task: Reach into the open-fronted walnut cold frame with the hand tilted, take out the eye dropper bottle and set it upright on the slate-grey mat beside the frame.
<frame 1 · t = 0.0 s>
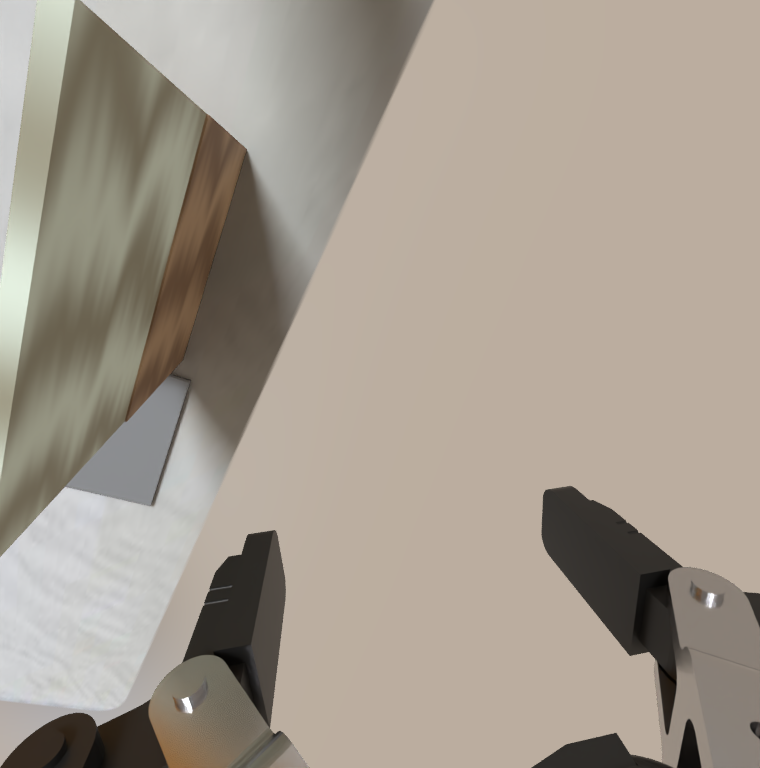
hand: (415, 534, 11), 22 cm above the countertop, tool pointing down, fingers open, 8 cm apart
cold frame: (137, 232, 27), on the countertop
slate mat: (92, 424, 32), on the countertop
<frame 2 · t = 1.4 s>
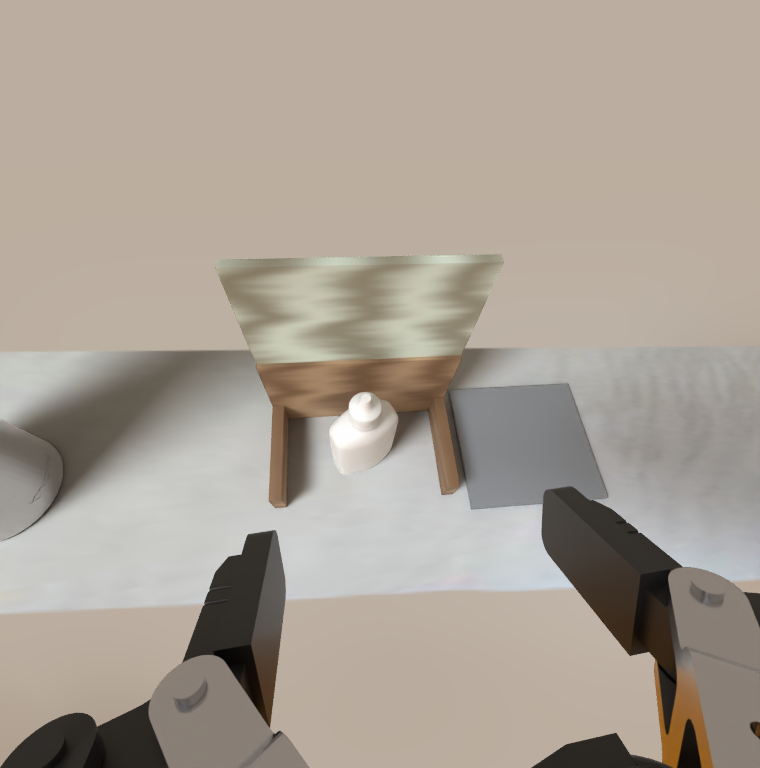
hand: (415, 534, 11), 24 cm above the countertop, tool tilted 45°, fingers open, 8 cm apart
eye dropper bottle: (362, 453, 37), on the countertop
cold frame: (362, 452, 37), on the countertop
slate mat: (522, 441, 39), on the countertop
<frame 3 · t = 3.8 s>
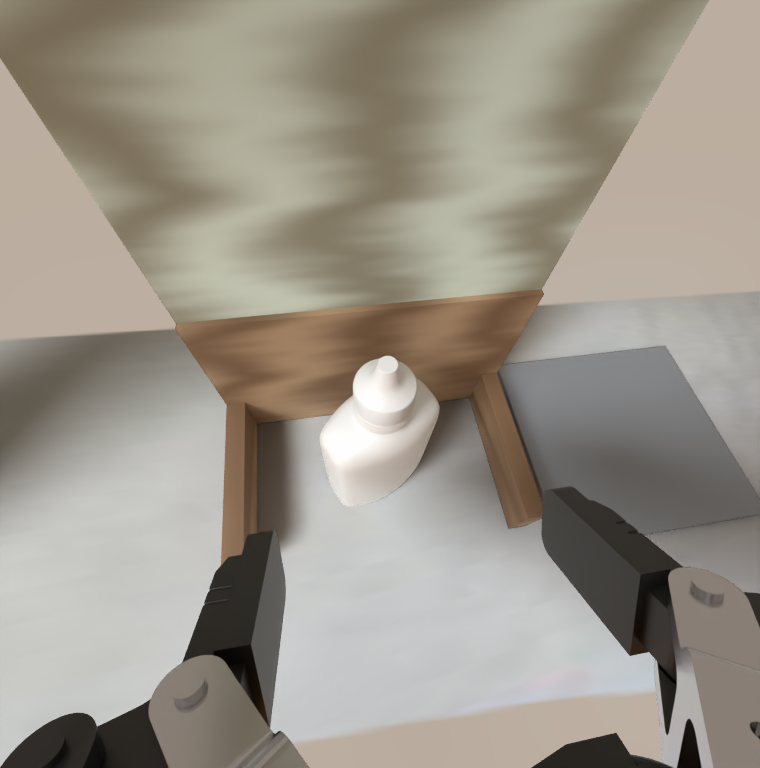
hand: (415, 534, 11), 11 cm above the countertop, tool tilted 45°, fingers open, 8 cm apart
eye dropper bottle: (375, 470, 24), on the countertop
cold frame: (375, 469, 24), on the countertop
slate mat: (617, 435, 25), on the countertop
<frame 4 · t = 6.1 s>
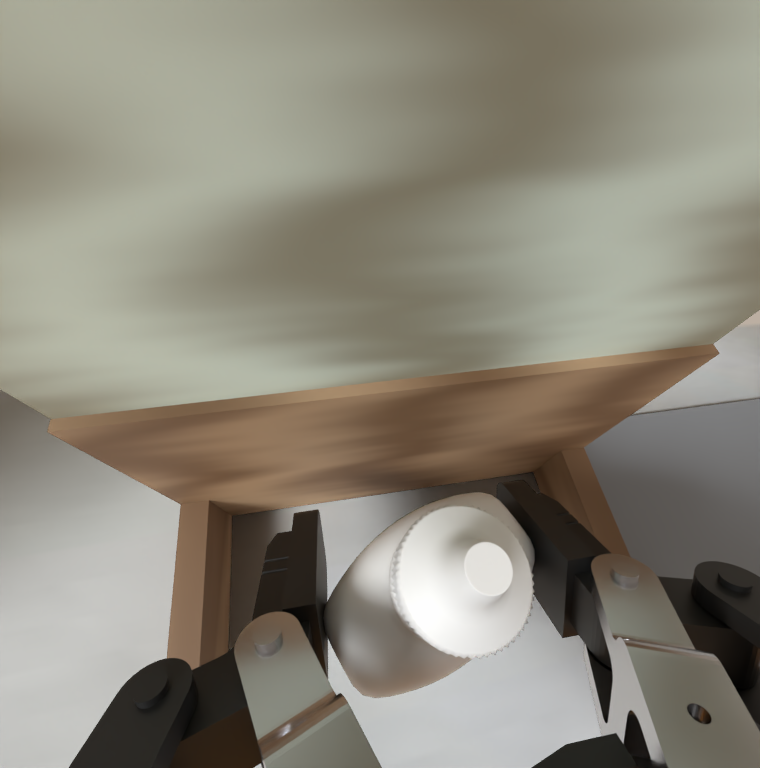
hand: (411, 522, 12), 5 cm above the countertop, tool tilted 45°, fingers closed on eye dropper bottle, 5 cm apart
eye dropper bottle: (404, 590, 16), on the countertop, touching gripper
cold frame: (405, 590, 16), on the countertop
slate mat: (749, 530, 18), on the countertop
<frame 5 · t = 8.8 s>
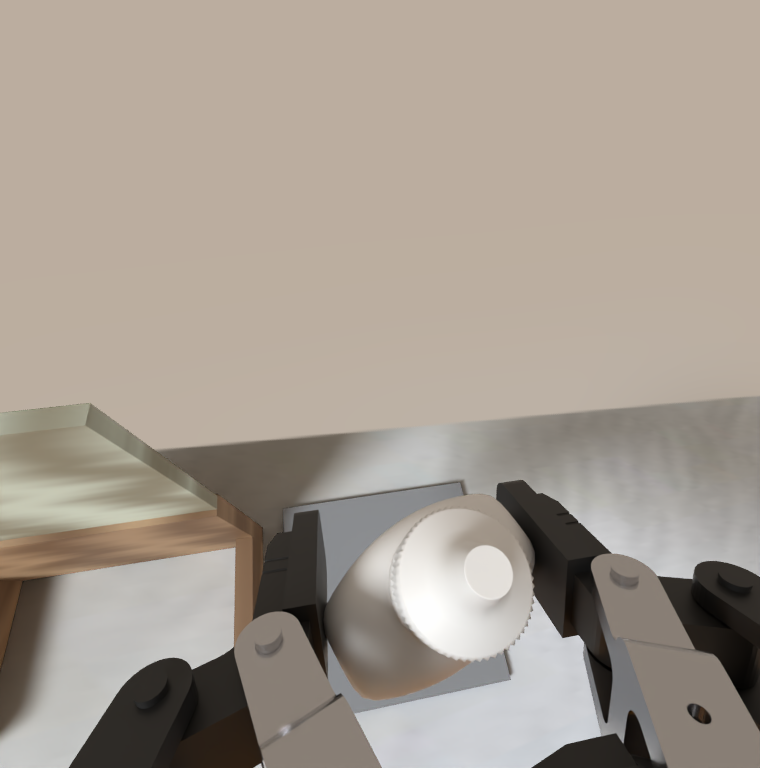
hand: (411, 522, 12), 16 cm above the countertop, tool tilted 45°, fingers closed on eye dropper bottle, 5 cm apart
eye dropper bottle: (404, 591, 16), point 11 cm above the countertop, touching gripper
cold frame: (130, 633, 24), on the countertop
slate mat: (387, 587, 26), on the countertop
when the fingers open (7 cm above the countertop, at t = 11.6 s): eye dropper bottle stays where it is, resting on slate mat.
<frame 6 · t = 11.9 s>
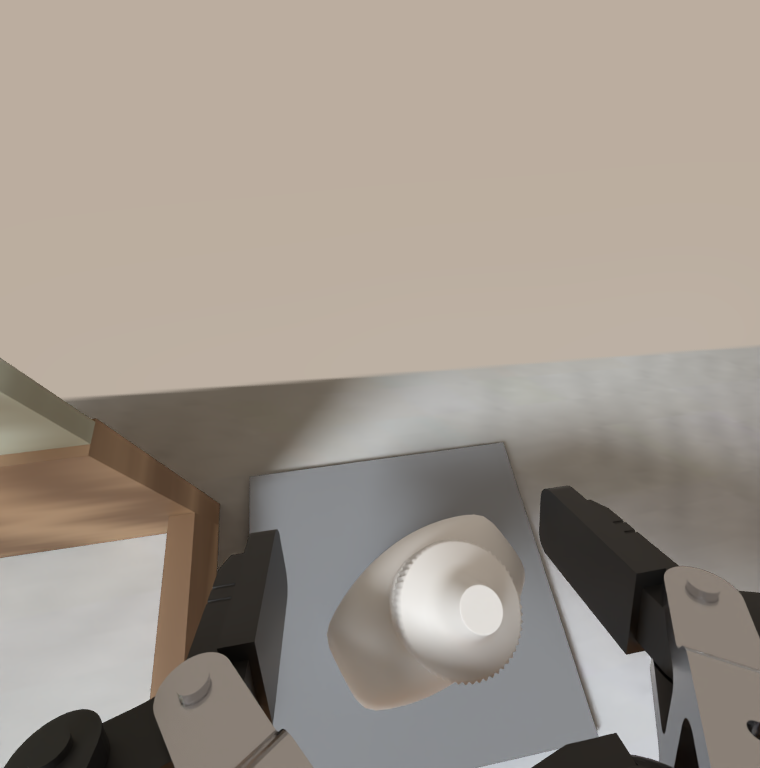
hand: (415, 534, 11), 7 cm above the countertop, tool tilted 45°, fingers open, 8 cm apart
eye dropper bottle: (401, 597, 17), resting on slate mat
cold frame: (6, 660, 15), on the countertop
slate mat: (401, 591, 17), on the countertop
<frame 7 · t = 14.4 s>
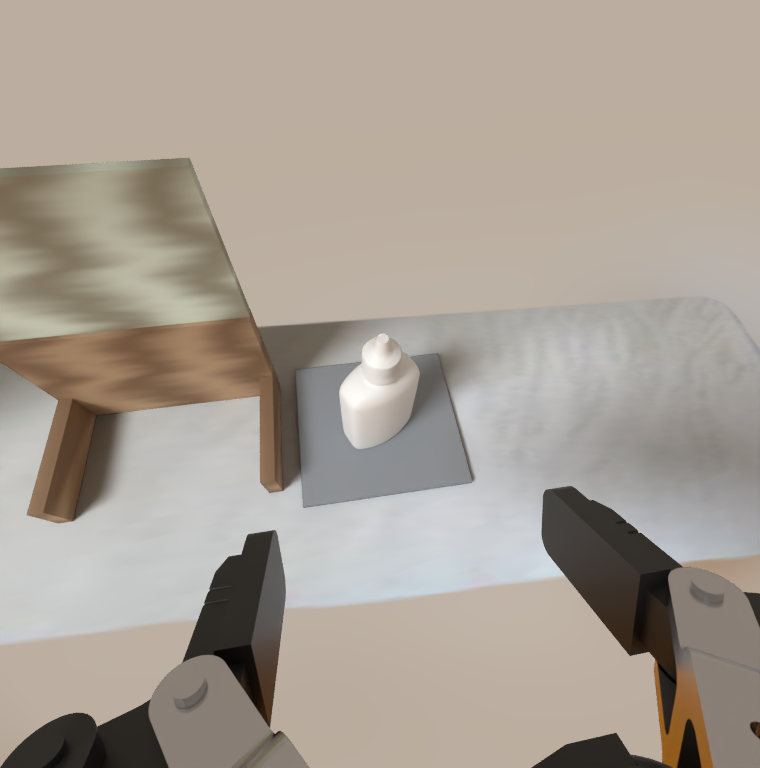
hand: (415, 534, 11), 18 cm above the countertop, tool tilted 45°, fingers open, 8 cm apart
eye dropper bottle: (377, 425, 32), resting on slate mat
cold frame: (179, 449, 31), on the countertop
slate mat: (377, 423, 33), on the countertop
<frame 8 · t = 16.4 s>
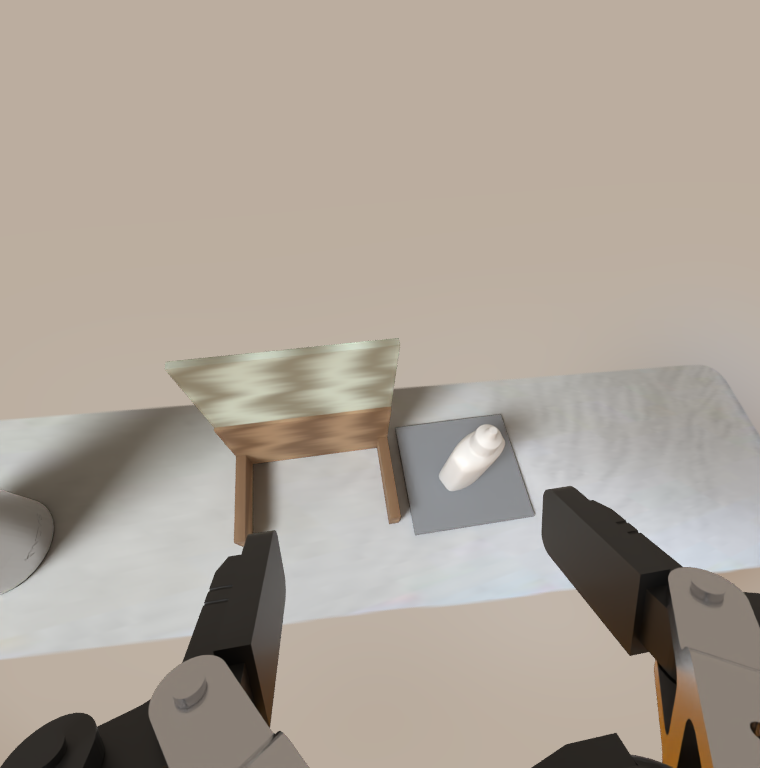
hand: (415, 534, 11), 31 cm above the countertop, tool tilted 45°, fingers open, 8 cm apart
eye dropper bottle: (461, 472, 44), resting on slate mat
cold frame: (318, 490, 42), on the countertop
slate mat: (460, 470, 44), on the countertop
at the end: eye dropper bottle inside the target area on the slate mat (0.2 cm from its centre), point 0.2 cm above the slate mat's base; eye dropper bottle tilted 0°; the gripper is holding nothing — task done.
